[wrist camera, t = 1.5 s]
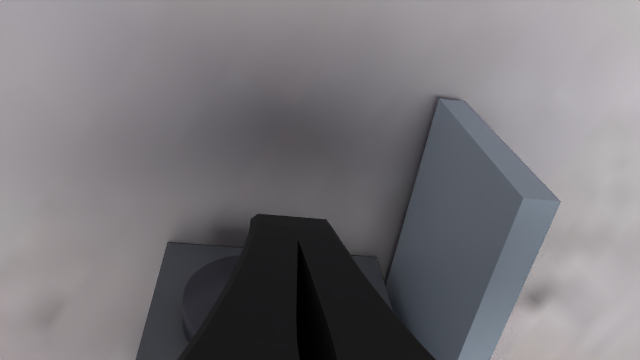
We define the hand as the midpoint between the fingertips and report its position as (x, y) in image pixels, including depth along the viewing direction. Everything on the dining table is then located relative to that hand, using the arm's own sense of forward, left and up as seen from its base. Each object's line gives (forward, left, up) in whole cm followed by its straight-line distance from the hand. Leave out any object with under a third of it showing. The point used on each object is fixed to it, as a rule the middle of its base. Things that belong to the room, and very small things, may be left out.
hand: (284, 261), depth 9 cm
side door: (-6, -5, -6) cm, 11 cm away
